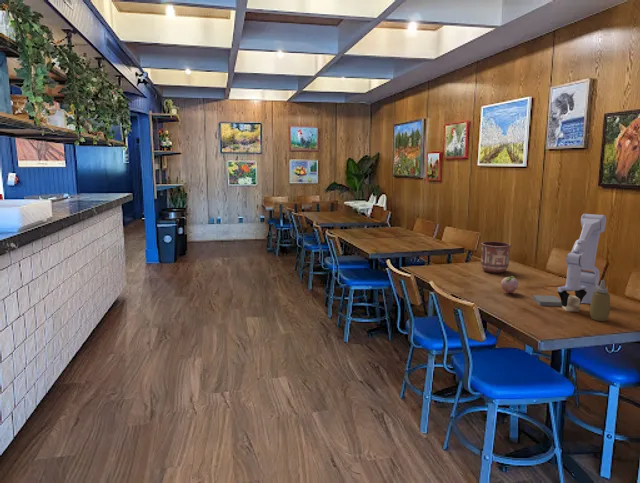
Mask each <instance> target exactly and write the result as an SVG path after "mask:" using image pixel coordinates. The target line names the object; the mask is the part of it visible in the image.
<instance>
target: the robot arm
mask: <svg viewBox="0 0 640 483" xmlns="http://www.w3.org/2000/svg"><path fill="white" fill-rule="evenodd" d="M580 224H581V228H582V229H581V233H580V234H579V235H580V236H579V238H578V239H576V240H575V242H574V243H573V246H572V248H571V251H570V252H568V253H567V255H566V258H565V262H566V268H567V270H566V281H565V285H562V286H558V287H557V293H558V295H559V299H560V300H561V303H562V306H564V307H566V306H567V300H568V297H569V296H571V295H570V294H571V293H569V292H574V296H576V297H578V298H579V299H580V304H587V305H588V304H590V305H591V300H592V296H593V293H594V292H596V287H599V286H600V285H599V282H600V276H601V275H600V274H601V272H600V270H599V269H598V267H596V266H595V264H596V258H597V252H598V247H599V242H600V237H601V233H605V230H606V226H607V216H606V215H605V214H594V213H593V214H592V213H583V214H582V215H581V217H580ZM562 306H561V307H562Z"/></svg>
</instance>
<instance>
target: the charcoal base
mask: <svg viewBox="0 0 640 483" xmlns="http://www.w3.org/2000/svg"><path fill="white" fill-rule="evenodd" d="M532 300H533V301H534V302H535V303H536V304H538V305H539V306H543V307H562V303H561V298H560V297H557V296H556V295H541V294H539V295H538V294H532Z"/></svg>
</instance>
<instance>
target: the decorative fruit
mask: <svg viewBox="0 0 640 483" xmlns="http://www.w3.org/2000/svg"><path fill="white" fill-rule="evenodd" d="M500 282H501V283H500V286H501V289H503V291H504V292H506V293H508V294H512V293H514V292H515V291H516V290H517V289H518V287H519V281H518V279H516V277H515V276H513V275H510V276H507V277H504V278H503V279H501V281H500Z"/></svg>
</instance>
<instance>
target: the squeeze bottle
mask: <svg viewBox="0 0 640 483" xmlns="http://www.w3.org/2000/svg"><path fill="white" fill-rule="evenodd" d="M598 286H599V287H596V292H594V293H593V296H592V300H591V304H590V305H589V308H588V309H589V310H588V311H589V315H590V318H591V320H594V321H598V322H607V320H608V319H609V316H610V314H611V294H610V293H609V288H607V287H606V282H605V279H602V280H600V284H599V285H598Z"/></svg>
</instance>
